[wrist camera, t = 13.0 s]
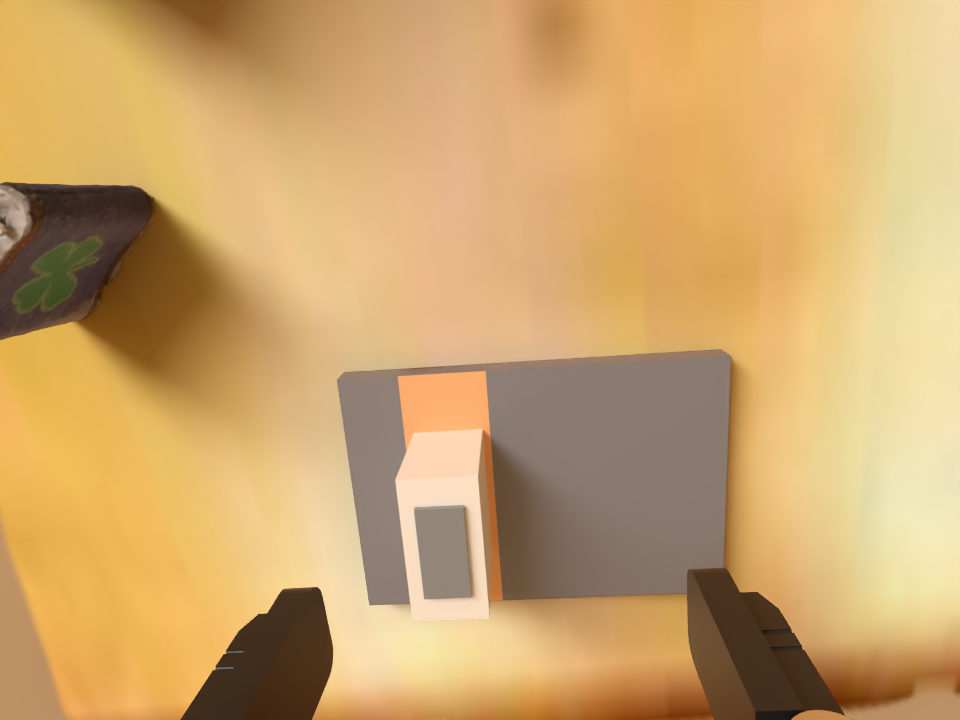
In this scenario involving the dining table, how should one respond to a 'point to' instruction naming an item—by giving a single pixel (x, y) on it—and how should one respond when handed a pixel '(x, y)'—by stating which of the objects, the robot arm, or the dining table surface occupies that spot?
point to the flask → (63, 249)
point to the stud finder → (446, 525)
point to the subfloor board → (557, 468)
